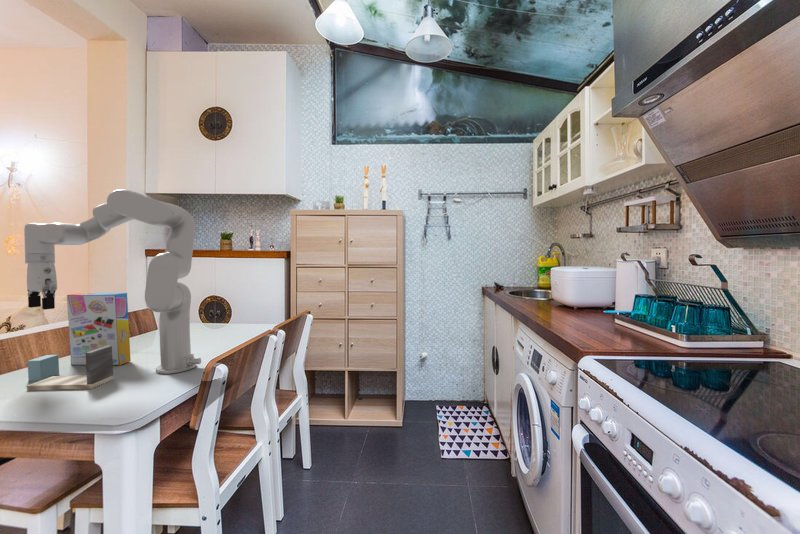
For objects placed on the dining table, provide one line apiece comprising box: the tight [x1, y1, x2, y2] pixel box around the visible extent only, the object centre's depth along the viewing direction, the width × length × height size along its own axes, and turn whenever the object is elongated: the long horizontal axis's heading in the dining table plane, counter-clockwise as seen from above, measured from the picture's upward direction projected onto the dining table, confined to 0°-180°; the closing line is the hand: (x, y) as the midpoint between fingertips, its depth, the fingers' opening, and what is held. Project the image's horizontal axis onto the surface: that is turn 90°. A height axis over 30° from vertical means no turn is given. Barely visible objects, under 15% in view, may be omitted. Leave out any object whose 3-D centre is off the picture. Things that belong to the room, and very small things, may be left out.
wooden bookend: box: [26, 346, 114, 391], centre depth 122 cm, size 20×9×12 cm, turn 91°
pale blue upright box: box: [27, 354, 60, 382], centre depth 129 cm, size 4×7×7 cm, turn 1°
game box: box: [66, 292, 132, 366], centre depth 145 cm, size 21×6×27 cm, turn 84°
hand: (41, 308), depth 132 cm, fingers open, 9 cm apart
